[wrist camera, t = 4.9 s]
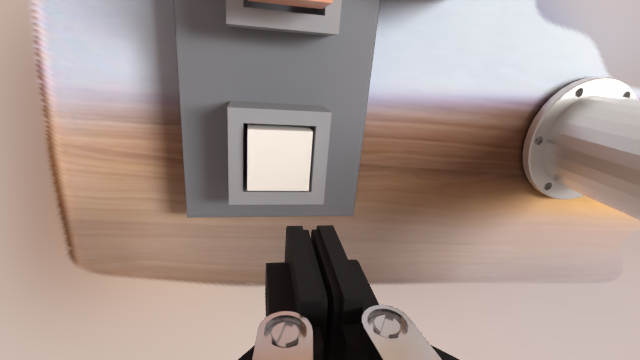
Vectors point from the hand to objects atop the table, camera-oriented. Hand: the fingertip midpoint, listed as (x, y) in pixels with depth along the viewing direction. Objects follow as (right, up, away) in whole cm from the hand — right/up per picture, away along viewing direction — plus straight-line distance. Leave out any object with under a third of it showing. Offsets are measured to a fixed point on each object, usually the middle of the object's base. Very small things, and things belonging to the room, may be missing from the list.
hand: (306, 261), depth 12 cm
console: (-3, +12, +15) cm, 20 cm away
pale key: (-3, +5, +14) cm, 15 cm away
